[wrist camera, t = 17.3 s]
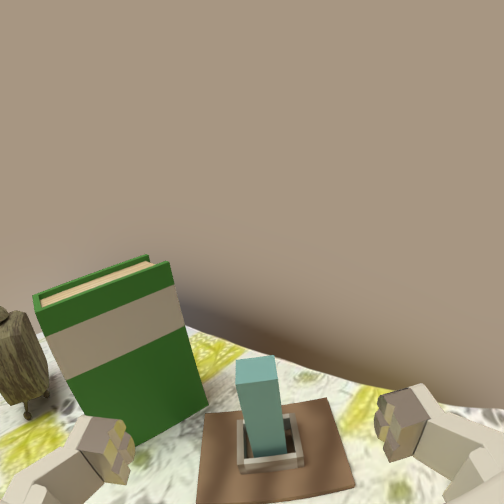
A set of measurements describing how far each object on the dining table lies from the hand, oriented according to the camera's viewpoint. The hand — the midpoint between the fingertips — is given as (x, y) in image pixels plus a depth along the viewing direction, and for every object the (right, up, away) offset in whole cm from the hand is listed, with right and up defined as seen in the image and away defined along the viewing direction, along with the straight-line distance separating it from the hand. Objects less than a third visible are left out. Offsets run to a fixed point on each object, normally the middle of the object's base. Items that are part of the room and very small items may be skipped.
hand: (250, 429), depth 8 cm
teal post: (+2, -19, +25) cm, 32 cm away
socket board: (+2, -20, +25) cm, 33 cm away
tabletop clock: (-41, -24, +36) cm, 60 cm away
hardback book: (-16, -21, +33) cm, 42 cm away
